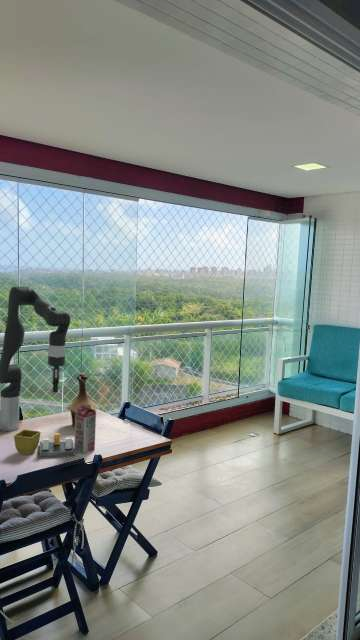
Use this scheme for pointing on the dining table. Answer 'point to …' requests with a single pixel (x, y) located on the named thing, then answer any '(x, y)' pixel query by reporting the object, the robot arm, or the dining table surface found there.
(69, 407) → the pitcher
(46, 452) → the panel
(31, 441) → the flower pot
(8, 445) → the dining table surface
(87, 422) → the juice carton
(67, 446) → the tab right
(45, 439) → the tab left
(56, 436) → the tab mid
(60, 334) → the robot arm
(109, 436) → the dining table surface
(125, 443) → the dining table surface
